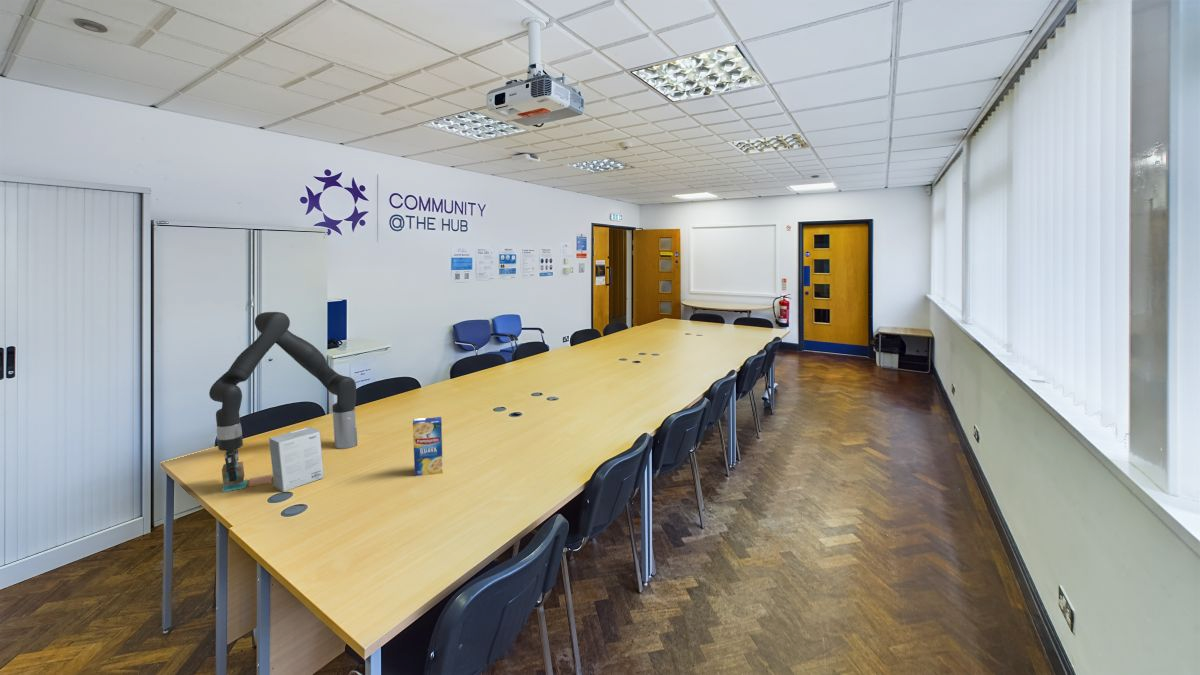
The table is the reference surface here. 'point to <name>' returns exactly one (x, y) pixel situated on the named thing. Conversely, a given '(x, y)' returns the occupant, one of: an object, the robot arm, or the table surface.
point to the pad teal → (234, 486)
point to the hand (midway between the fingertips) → (233, 477)
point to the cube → (238, 474)
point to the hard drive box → (296, 458)
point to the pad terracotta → (260, 480)
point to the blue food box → (427, 446)
